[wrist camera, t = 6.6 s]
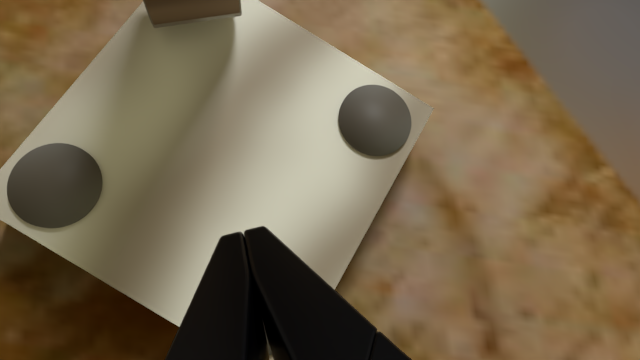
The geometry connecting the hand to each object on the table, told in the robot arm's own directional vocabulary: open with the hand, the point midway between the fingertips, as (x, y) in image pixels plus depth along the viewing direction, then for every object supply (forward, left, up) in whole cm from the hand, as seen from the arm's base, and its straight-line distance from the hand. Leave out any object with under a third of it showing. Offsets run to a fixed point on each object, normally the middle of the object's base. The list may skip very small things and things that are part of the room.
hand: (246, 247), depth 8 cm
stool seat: (+4, -3, -11) cm, 12 cm away
